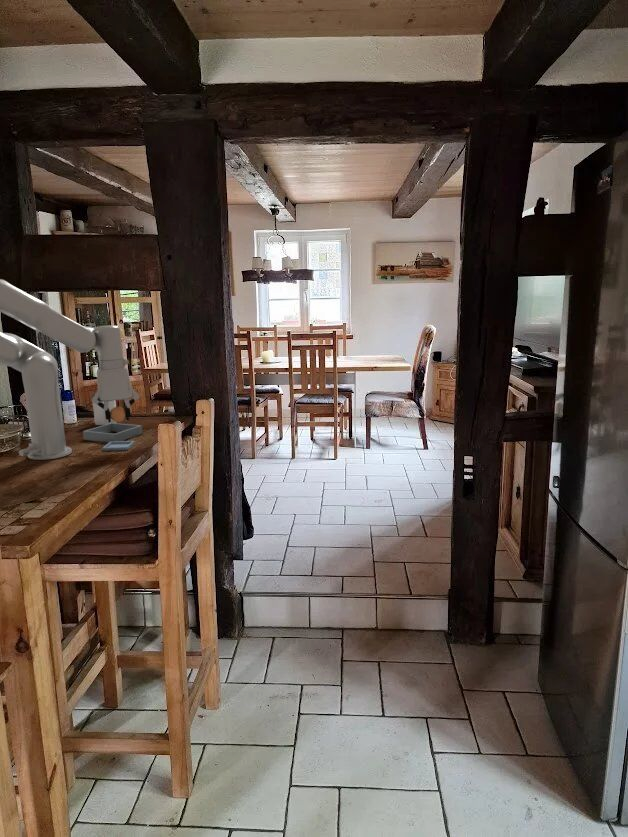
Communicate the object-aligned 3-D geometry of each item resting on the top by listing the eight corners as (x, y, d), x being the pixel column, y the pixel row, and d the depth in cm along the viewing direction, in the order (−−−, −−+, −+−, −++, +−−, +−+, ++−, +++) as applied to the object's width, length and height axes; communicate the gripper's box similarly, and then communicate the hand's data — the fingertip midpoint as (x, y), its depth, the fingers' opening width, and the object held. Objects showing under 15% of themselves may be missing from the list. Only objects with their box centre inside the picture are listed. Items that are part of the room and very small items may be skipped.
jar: (99, 426, 213) (96, 395, 210) (90, 423, 219) (87, 393, 216) (121, 422, 219) (119, 392, 216) (112, 419, 225) (110, 390, 222)
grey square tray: (115, 443, 188) (114, 434, 188) (83, 439, 193) (82, 431, 193) (142, 433, 201) (142, 425, 200) (112, 430, 206) (111, 422, 205)
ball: (119, 424, 178) (117, 408, 177) (107, 423, 180) (105, 408, 179) (130, 420, 182) (128, 405, 181) (118, 419, 184) (116, 404, 183)
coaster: (127, 450, 179) (127, 447, 179) (102, 450, 179) (102, 447, 178) (134, 443, 187) (134, 440, 187) (110, 444, 186) (110, 441, 186)
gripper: (138, 361, 183) (144, 415, 188) (83, 365, 177) (90, 421, 181) (140, 363, 177) (146, 419, 181) (83, 368, 170) (90, 426, 175)
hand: (118, 420), depth 181 cm, fingers closed on ball, 4 cm apart
